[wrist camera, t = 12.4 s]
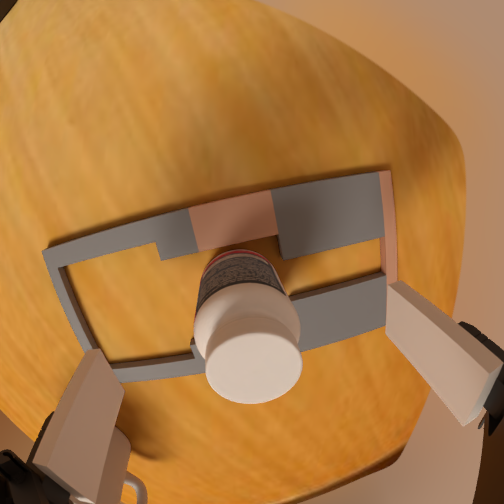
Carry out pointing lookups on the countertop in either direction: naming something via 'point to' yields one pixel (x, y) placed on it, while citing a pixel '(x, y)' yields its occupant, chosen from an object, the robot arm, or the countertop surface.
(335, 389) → the countertop surface
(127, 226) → the keyhole board
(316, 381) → the countertop surface
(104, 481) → the mug
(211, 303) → the pill bottle
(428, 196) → the countertop surface
